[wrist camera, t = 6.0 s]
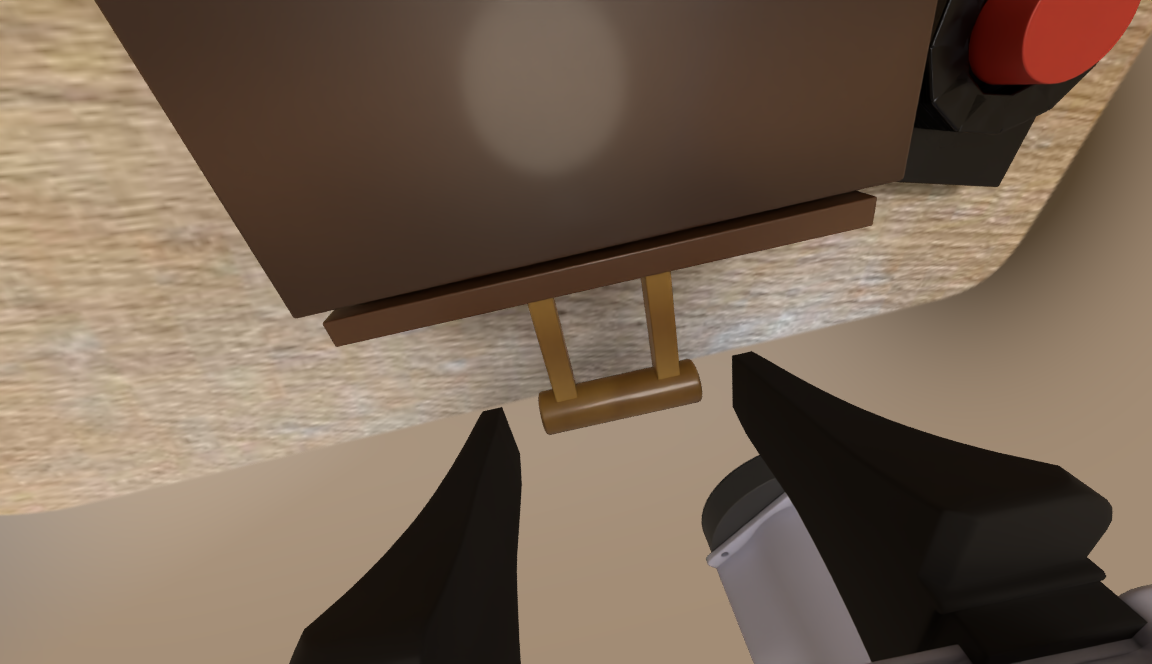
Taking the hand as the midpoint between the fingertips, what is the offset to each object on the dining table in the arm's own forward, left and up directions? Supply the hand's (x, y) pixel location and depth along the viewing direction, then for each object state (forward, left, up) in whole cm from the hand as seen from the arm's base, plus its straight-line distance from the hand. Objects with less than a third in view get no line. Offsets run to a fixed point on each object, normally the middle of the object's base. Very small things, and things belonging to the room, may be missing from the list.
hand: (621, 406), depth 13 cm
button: (+16, -5, -5) cm, 17 cm away
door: (+2, +2, -8) cm, 8 cm away
